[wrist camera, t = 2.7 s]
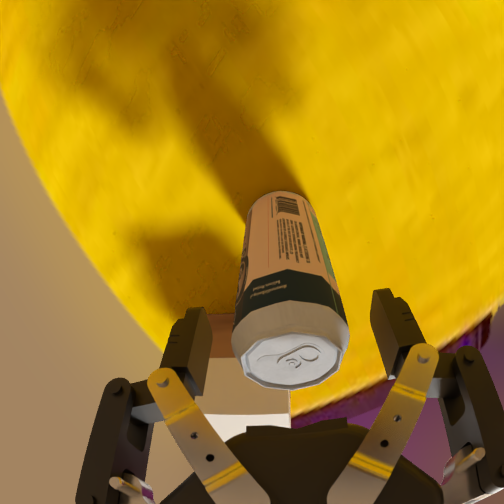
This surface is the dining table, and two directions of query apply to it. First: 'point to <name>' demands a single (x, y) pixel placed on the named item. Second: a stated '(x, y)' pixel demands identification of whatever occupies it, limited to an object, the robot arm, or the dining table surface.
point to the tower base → (221, 335)
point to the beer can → (287, 298)
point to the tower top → (240, 400)
